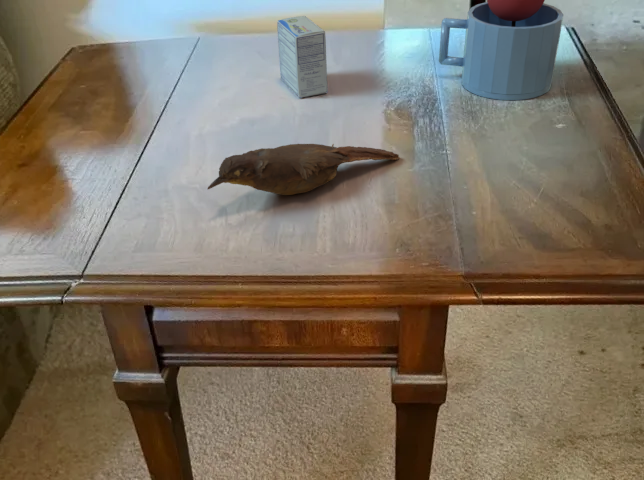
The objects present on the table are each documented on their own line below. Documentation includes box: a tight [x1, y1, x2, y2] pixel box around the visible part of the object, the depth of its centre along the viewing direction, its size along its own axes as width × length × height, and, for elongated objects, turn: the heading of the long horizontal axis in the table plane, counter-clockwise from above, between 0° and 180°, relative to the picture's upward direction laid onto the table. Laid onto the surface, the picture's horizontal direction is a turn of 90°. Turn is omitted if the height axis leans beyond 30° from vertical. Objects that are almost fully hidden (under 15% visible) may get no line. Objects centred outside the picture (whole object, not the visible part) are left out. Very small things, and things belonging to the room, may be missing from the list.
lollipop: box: [486, 0, 545, 27], centre depth 103 cm, size 8×8×15 cm
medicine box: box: [276, 15, 328, 99], centre depth 106 cm, size 8×4×9 cm, turn 20°
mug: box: [438, 1, 564, 101], centre depth 105 cm, size 16×12×10 cm
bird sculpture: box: [207, 143, 400, 196], centre depth 85 cm, size 7×25×5 cm, turn 122°
